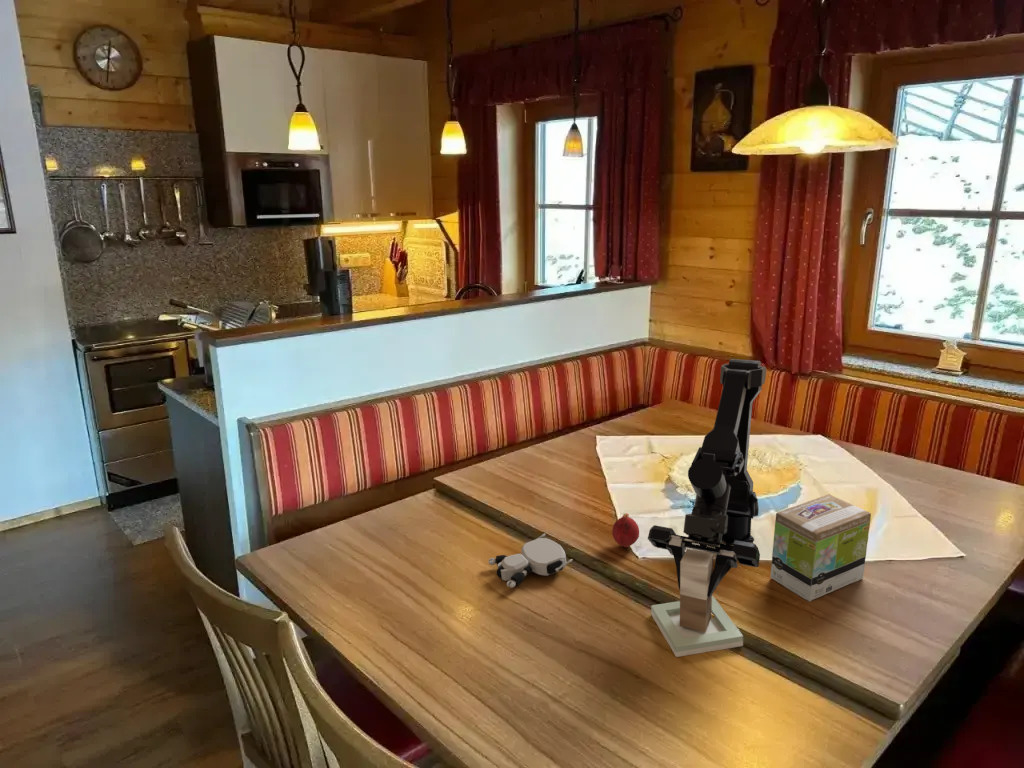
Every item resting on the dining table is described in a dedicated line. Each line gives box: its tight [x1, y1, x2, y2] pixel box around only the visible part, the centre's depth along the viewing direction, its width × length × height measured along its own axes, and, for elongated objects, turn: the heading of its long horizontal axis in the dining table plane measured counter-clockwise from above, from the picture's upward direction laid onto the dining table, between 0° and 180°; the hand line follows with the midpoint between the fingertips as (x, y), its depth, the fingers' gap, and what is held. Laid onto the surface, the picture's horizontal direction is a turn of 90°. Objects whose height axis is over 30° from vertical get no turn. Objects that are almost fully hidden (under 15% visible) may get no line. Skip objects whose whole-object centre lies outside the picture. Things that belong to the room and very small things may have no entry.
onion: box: [611, 512, 640, 548], centre depth 152 cm, size 6×6×8 cm
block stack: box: [679, 548, 714, 632], centre depth 123 cm, size 4×4×13 cm
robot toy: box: [488, 533, 574, 588], centre depth 146 cm, size 12×4×15 cm
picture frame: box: [650, 595, 744, 658], centre depth 125 cm, size 12×12×2 cm
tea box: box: [769, 494, 872, 602], centre depth 136 cm, size 15×10×15 cm
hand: (694, 593), depth 122 cm, fingers closed on block stack, 4 cm apart
